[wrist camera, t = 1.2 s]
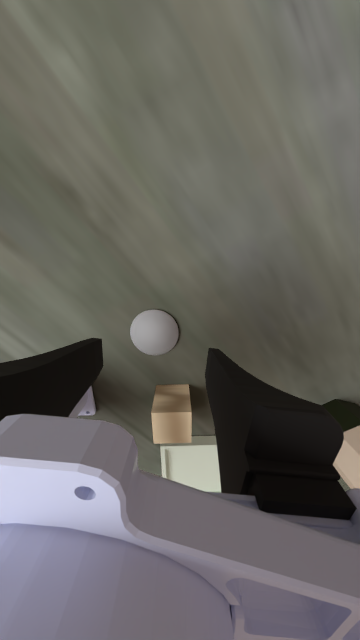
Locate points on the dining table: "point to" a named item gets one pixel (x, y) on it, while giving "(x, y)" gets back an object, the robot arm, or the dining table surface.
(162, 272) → the dining table surface
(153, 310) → the pad
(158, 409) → the block
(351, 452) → the wine bottle
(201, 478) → the tray
